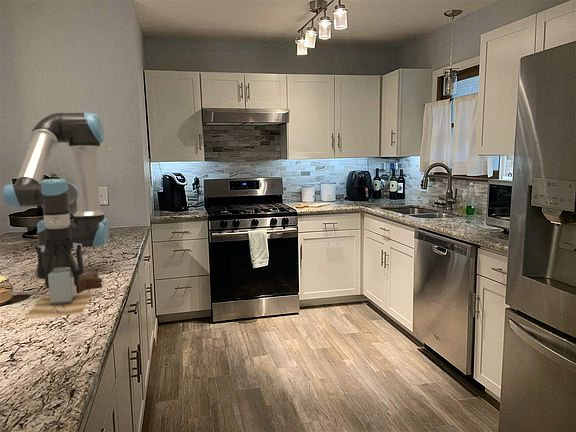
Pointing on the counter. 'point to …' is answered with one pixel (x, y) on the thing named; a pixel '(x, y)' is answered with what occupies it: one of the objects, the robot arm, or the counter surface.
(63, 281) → the grey rectangular block
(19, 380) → the counter surface
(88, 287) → the decorative item
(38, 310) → the board
